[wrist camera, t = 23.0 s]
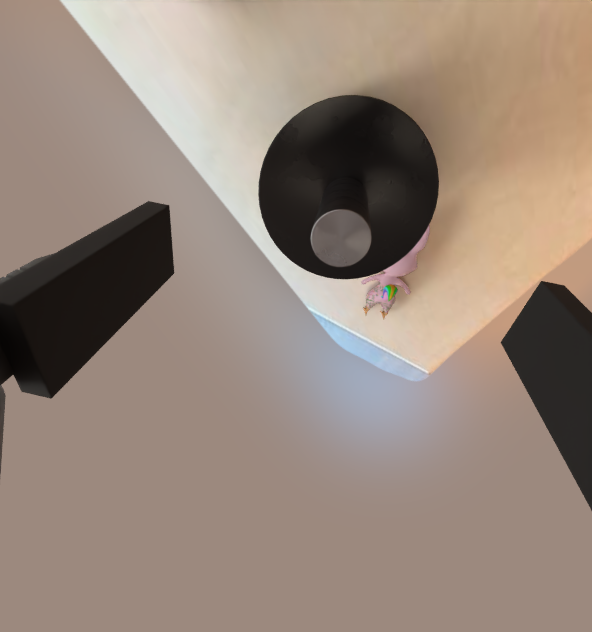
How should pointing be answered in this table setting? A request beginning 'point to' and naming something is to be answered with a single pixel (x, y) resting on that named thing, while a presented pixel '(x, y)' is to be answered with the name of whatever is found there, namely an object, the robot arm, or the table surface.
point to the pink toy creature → (393, 279)
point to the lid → (348, 187)
